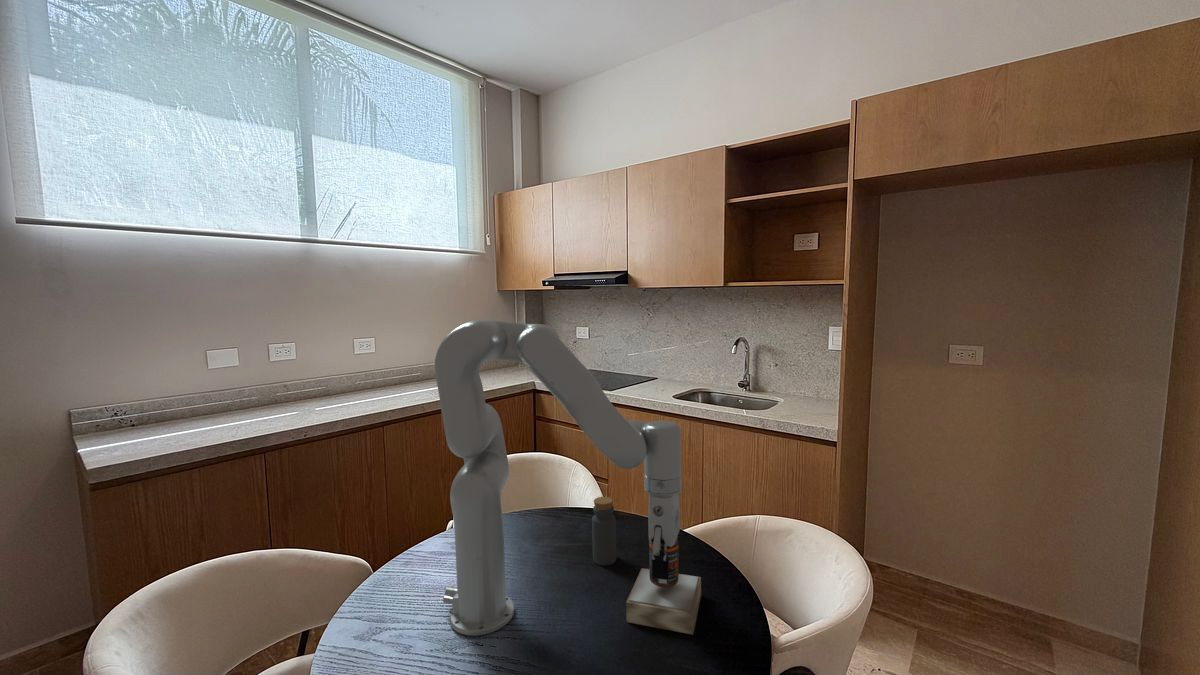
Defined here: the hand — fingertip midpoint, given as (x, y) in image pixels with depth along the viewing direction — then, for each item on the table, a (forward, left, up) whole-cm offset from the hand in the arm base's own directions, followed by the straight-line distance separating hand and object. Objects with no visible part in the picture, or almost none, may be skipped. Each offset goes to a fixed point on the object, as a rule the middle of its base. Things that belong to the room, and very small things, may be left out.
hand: (663, 568), depth 97 cm
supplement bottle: (0, 0, -3) cm, 3 cm away
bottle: (-18, +15, -9) cm, 25 cm away
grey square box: (0, 0, -8) cm, 8 cm away
